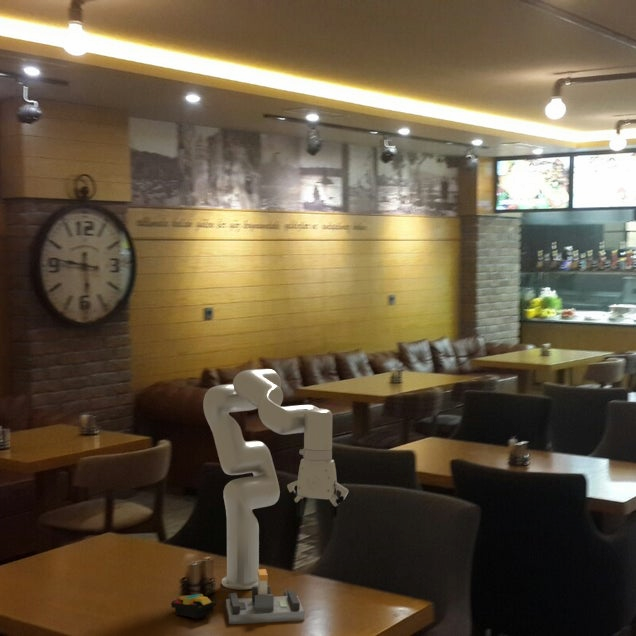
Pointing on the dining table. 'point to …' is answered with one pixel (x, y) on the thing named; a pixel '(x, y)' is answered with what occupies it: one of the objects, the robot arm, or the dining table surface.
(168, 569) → the dining table surface
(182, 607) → the black basket
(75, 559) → the dining table surface
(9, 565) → the dining table surface
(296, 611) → the panel
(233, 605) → the pair of grey posts
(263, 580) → the lever
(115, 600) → the dining table surface
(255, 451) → the robot arm
